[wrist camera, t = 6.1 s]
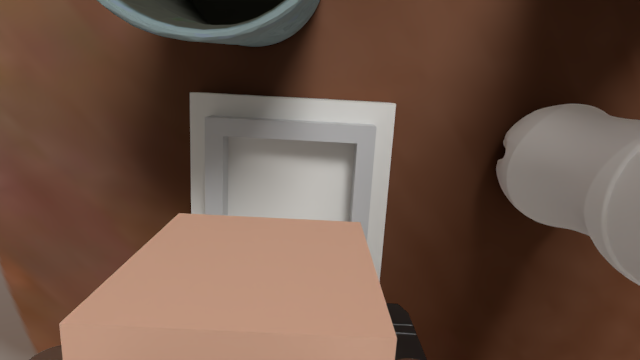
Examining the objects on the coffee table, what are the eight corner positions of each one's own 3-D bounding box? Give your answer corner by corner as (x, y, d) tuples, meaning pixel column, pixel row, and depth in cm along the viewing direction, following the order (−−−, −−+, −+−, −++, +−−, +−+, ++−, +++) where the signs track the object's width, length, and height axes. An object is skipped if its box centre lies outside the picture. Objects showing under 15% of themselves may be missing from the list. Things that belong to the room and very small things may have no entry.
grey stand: (390, 102, 26) (401, 104, 23) (374, 278, 29) (382, 303, 26) (199, 92, 26) (181, 92, 23) (200, 270, 29) (184, 294, 25)
